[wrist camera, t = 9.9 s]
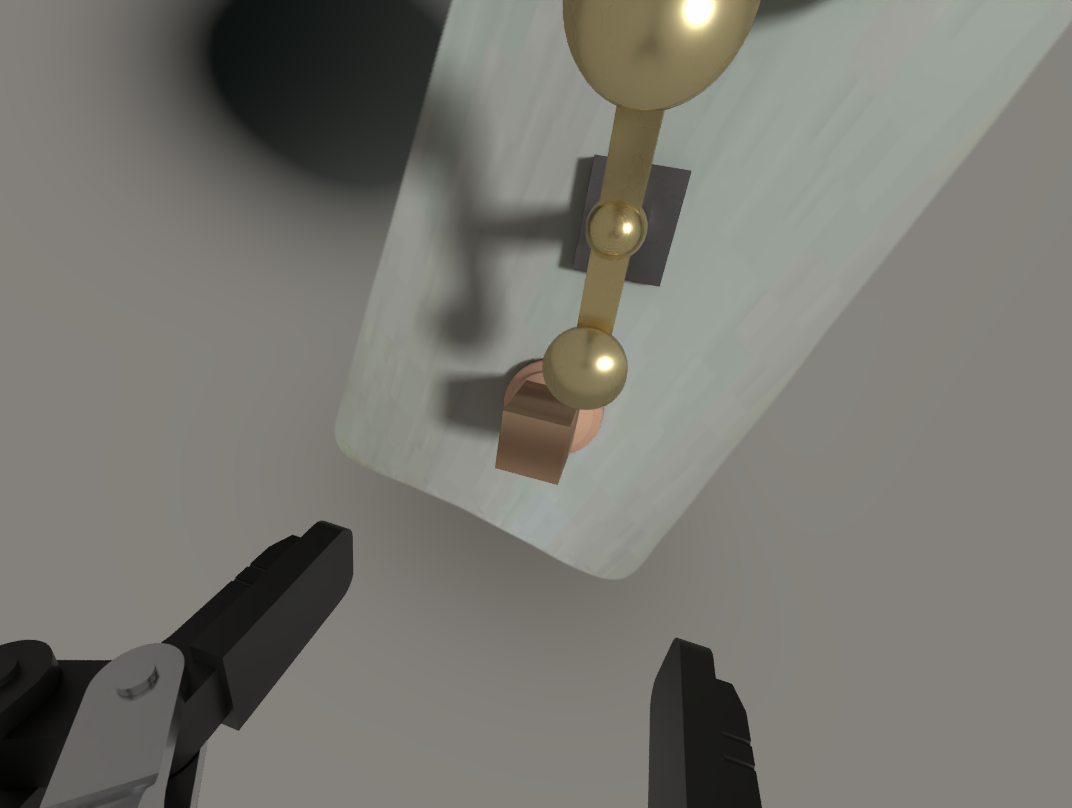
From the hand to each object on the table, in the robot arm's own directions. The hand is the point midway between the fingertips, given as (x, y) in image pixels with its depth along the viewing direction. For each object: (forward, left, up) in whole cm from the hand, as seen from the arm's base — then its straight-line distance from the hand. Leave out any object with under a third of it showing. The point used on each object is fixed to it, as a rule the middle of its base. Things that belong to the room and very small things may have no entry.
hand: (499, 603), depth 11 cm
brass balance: (-8, 0, -26) cm, 27 cm away
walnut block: (+7, -3, -24) cm, 25 cm away
